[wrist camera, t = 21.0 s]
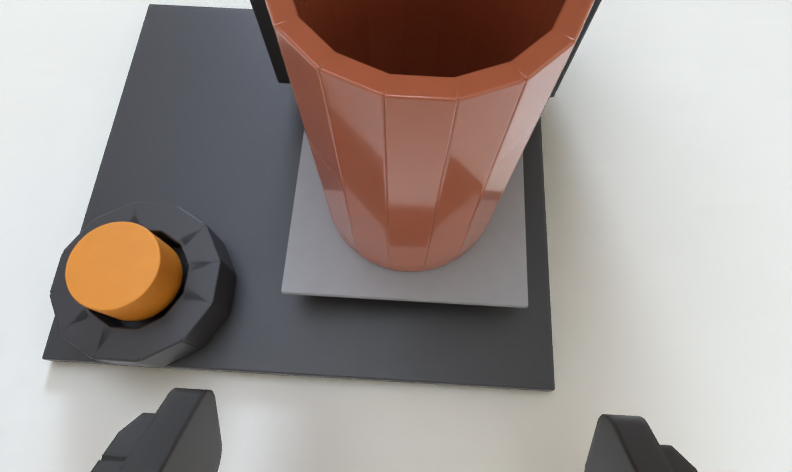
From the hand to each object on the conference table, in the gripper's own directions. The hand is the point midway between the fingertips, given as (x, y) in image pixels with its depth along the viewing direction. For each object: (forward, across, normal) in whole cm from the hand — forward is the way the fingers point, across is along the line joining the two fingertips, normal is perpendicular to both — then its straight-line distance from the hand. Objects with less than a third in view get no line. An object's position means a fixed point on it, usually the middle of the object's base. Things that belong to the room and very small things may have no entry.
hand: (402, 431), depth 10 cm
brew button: (+8, +10, +2) cm, 13 cm away
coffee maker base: (+14, +4, -1) cm, 15 cm away
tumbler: (+10, 0, -2) cm, 11 cm away
